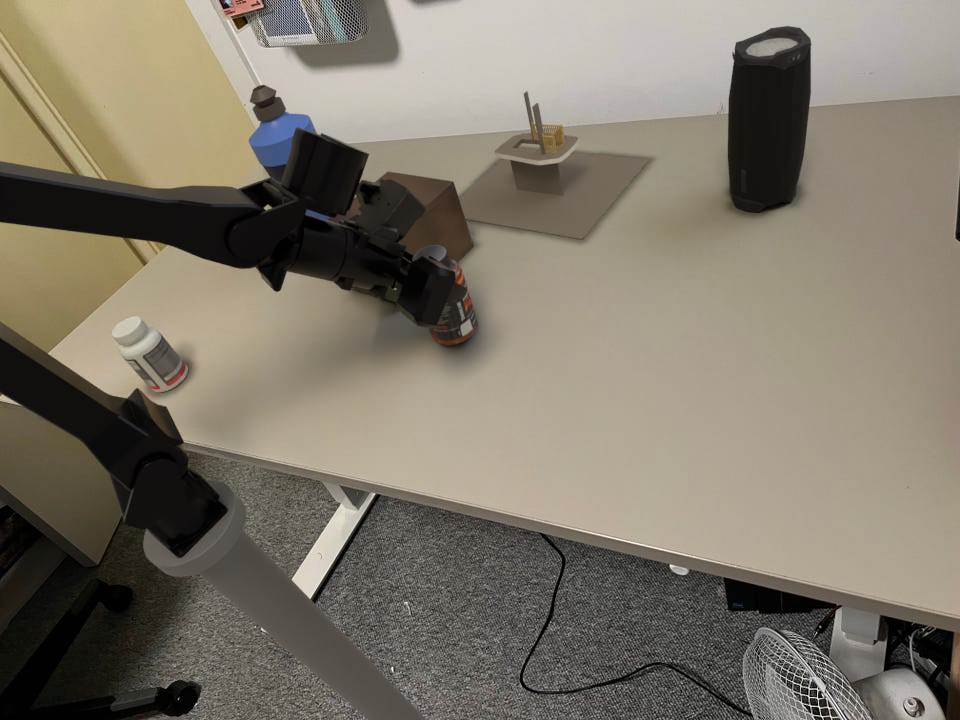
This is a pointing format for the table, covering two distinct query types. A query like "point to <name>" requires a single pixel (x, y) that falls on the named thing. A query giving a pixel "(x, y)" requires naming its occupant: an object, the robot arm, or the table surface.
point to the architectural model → (548, 183)
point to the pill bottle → (149, 354)
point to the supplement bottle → (452, 304)
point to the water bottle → (275, 133)
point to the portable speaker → (768, 116)
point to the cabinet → (430, 216)
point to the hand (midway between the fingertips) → (450, 282)
